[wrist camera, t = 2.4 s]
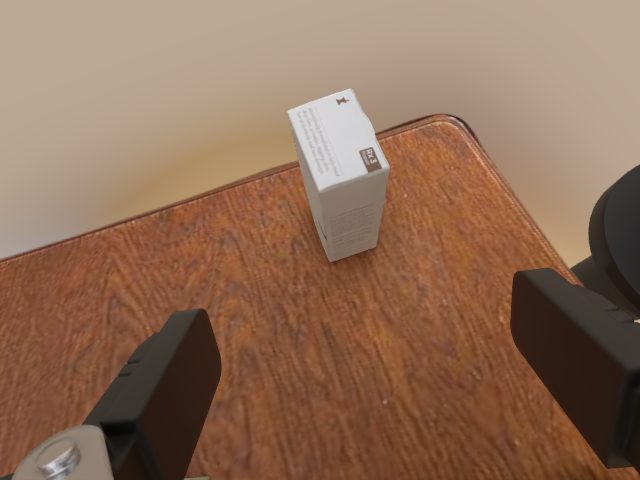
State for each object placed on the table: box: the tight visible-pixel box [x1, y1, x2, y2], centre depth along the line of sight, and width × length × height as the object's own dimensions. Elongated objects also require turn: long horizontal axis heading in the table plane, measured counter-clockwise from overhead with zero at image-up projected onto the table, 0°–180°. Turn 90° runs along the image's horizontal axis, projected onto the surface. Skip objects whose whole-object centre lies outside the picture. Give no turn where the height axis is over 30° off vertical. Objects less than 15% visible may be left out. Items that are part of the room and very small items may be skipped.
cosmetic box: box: [287, 88, 390, 262], centre depth 26 cm, size 6×4×12 cm
